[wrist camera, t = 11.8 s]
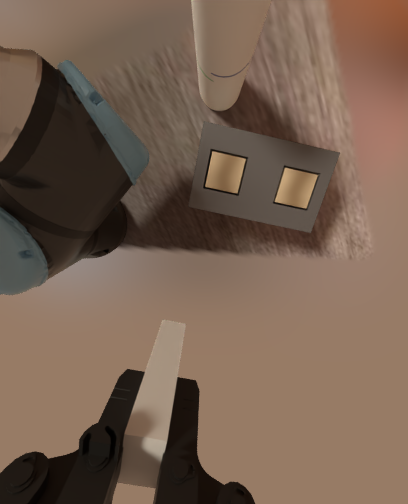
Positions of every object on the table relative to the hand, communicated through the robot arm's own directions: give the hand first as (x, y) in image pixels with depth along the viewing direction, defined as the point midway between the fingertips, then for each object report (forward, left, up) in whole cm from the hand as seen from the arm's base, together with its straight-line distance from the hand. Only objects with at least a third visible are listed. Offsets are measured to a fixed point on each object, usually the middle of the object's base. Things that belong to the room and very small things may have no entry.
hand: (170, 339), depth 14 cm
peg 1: (+2, +12, -30) cm, 33 cm away
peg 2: (+14, +12, -30) cm, 35 cm away
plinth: (+8, +12, -32) cm, 35 cm away
